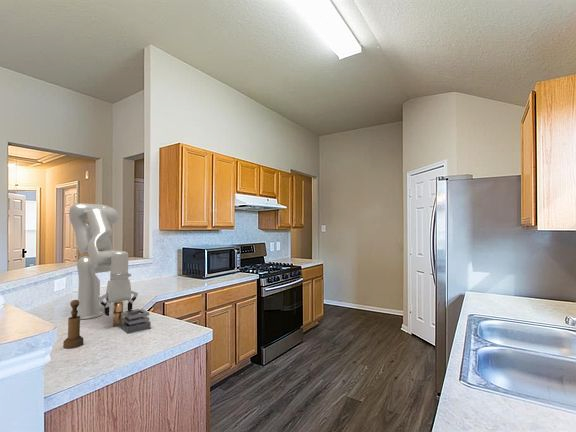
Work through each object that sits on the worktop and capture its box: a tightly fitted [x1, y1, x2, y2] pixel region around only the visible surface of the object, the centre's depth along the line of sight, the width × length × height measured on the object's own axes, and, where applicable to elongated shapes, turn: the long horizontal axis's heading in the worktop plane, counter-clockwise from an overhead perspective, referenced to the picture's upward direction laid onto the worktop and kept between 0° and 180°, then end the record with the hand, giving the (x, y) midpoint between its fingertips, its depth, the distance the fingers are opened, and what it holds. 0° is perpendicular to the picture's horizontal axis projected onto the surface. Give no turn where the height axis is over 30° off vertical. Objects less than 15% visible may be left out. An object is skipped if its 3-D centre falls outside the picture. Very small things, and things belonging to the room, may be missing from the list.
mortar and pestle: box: [62, 299, 84, 349], centre depth 123 cm, size 7×6×18 cm
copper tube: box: [112, 301, 124, 328], centre depth 148 cm, size 4×4×11 cm
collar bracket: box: [118, 308, 151, 335], centre depth 144 cm, size 11×10×7 cm
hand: (118, 313), depth 148 cm, fingers open, 9 cm apart
